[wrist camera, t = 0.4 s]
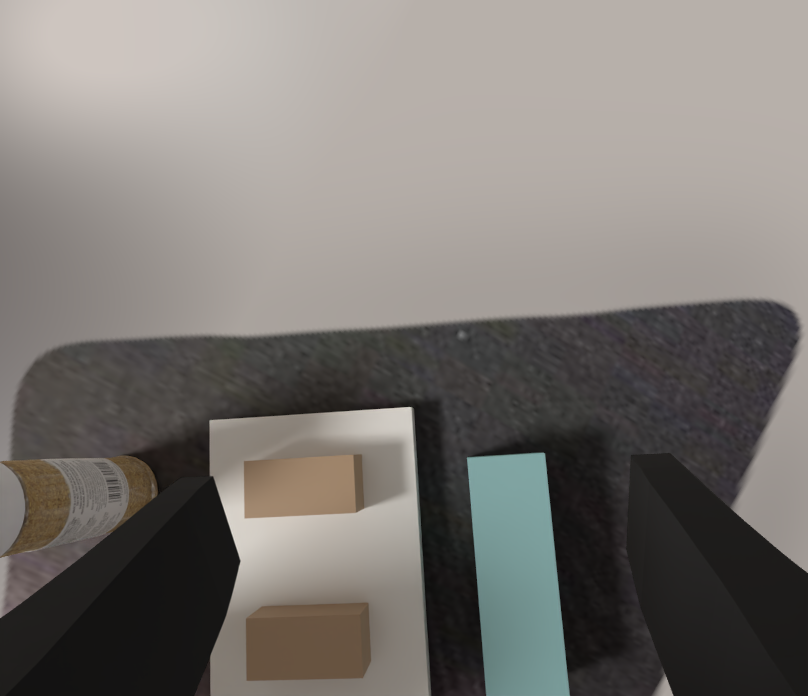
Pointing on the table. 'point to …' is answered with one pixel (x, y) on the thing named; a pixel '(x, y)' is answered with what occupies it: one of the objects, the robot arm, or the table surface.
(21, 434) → the table surface
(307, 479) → the display stand
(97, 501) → the sprinkles bottle
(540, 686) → the teal bar
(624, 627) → the table surface
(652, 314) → the table surface
